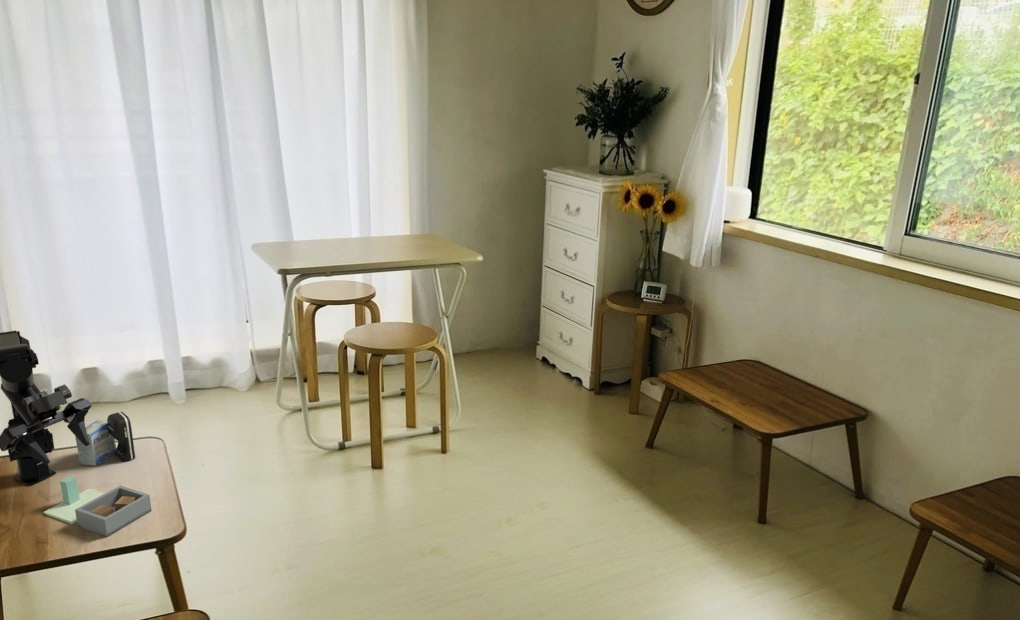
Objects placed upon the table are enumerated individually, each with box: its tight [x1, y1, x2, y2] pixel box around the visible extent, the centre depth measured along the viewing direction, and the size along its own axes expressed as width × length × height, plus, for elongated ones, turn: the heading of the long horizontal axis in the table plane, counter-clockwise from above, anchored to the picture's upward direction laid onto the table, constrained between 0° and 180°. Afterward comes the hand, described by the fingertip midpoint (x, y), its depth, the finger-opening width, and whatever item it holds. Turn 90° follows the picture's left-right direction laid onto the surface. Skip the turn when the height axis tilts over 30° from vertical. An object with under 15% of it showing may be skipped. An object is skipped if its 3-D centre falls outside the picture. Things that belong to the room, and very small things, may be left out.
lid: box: [43, 475, 105, 525], centre depth 164 cm, size 9×11×6 cm
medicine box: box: [74, 419, 117, 467], centre depth 184 cm, size 8×4×9 cm, turn 170°
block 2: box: [115, 496, 136, 511], centre depth 161 cm, size 3×3×3 cm
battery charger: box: [106, 411, 136, 462], centre depth 185 cm, size 7×4×11 cm, turn 45°
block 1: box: [90, 505, 114, 517], centre depth 158 cm, size 3×3×3 cm
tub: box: [75, 485, 153, 538], centre depth 160 cm, size 9×11×4 cm
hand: (68, 453), depth 161 cm, fingers open, 9 cm apart
